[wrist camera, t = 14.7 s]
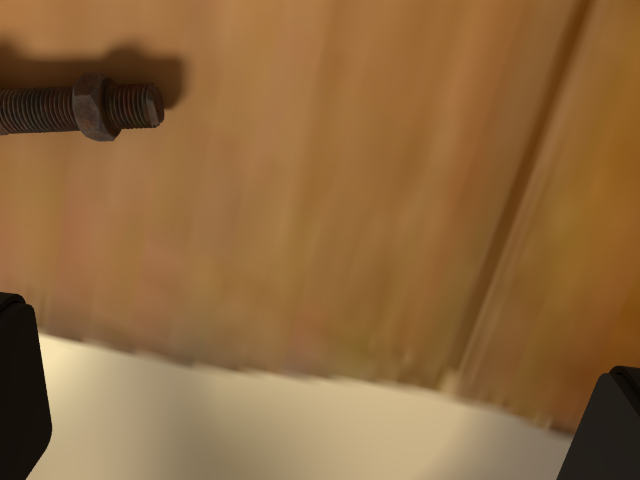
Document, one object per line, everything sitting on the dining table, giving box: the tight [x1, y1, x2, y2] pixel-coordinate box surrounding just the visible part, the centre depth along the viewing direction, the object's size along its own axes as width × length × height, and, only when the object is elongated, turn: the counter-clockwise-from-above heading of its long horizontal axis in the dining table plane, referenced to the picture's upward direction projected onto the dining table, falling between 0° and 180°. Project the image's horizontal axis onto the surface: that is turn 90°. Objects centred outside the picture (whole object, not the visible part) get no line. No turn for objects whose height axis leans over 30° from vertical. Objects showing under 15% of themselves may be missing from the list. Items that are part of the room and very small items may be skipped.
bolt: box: [0, 73, 164, 141], centre depth 39 cm, size 6×5×15 cm
